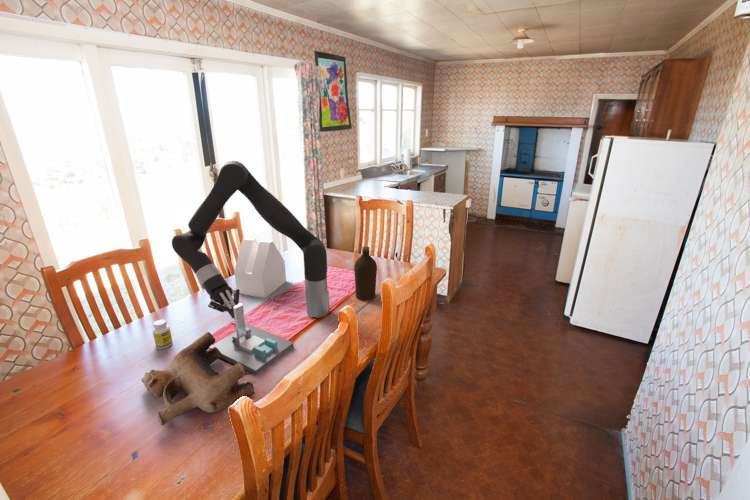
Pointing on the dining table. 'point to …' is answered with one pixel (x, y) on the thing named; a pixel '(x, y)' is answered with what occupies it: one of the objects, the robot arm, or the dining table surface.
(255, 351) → the base plate
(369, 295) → the olive oil
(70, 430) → the dining table surface
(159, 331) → the supplement bottle
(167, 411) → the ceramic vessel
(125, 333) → the dining table surface
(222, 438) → the dining table surface
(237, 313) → the latch lever
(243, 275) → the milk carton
